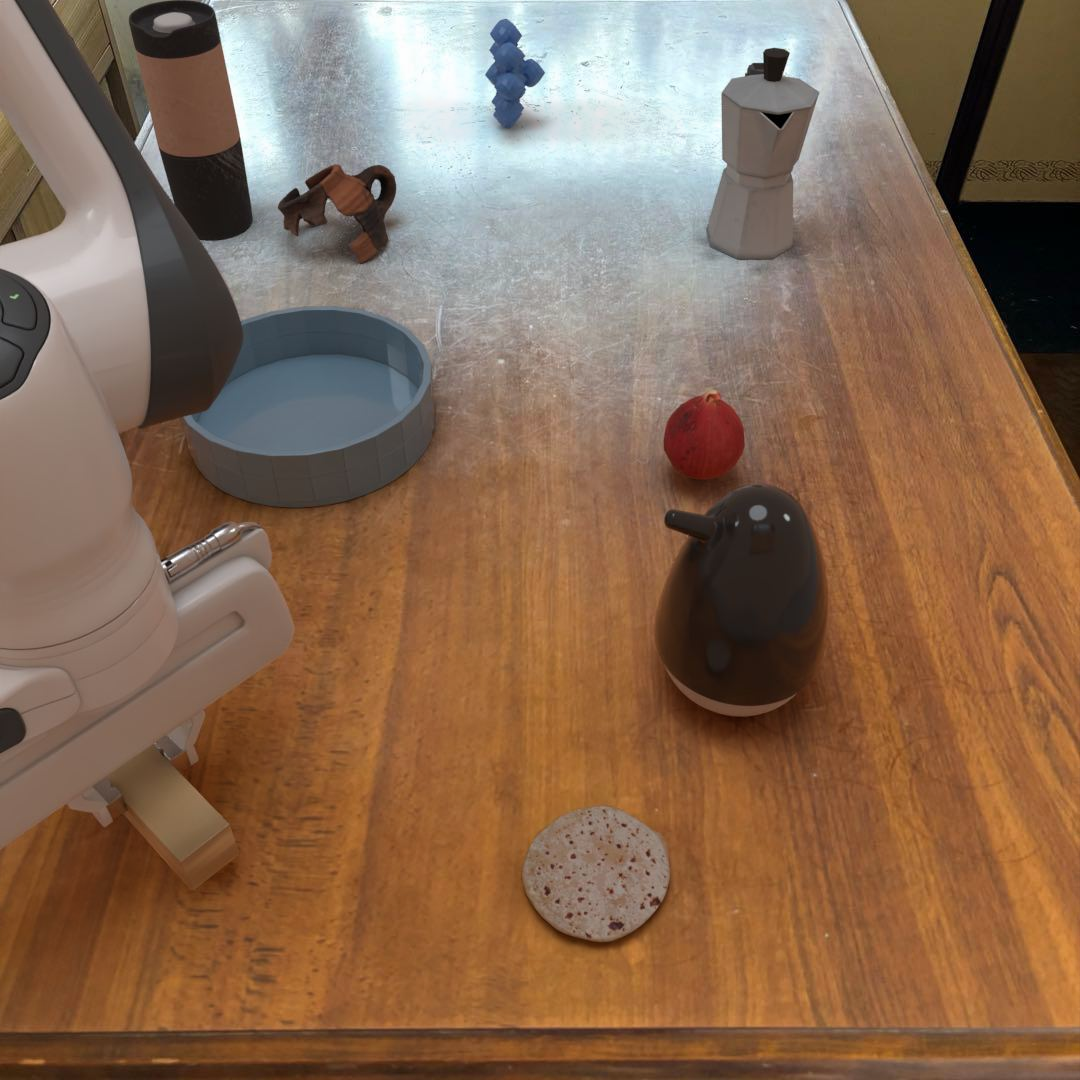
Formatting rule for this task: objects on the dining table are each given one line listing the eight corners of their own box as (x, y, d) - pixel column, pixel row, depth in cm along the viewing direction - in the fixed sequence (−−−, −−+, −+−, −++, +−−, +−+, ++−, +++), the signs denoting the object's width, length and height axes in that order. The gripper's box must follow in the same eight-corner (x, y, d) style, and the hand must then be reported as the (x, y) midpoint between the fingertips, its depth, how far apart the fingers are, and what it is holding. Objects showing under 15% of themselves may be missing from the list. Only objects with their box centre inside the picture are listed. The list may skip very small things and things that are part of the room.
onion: (676, 509, 81) (687, 422, 75) (649, 460, 84) (657, 374, 79) (749, 494, 82) (765, 408, 76) (719, 446, 86) (732, 361, 80)
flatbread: (581, 973, 56) (581, 964, 55) (496, 862, 60) (495, 853, 59) (701, 885, 59) (703, 876, 58) (613, 787, 63) (614, 777, 63)
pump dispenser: (636, 619, 73) (652, 440, 62) (791, 611, 73) (834, 432, 63) (658, 748, 66) (682, 570, 55) (830, 738, 66) (886, 560, 55)
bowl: (141, 429, 87) (124, 377, 84) (331, 330, 97) (323, 280, 94) (291, 546, 78) (280, 493, 74) (485, 422, 88) (482, 371, 84)
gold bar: (72, 757, 63) (56, 726, 61) (118, 726, 65) (105, 694, 62) (192, 891, 57) (179, 862, 55) (240, 854, 59) (229, 824, 57)
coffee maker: (805, 271, 104) (841, 79, 92) (712, 271, 104) (736, 80, 92) (779, 196, 115) (809, 16, 103) (695, 197, 115) (714, 16, 102)
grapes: (549, 146, 123) (551, 36, 115) (489, 149, 123) (486, 38, 115) (540, 104, 132) (540, -3, 123) (483, 106, 131) (480, -1, 123)
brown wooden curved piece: (345, 283, 104) (292, 207, 99) (304, 285, 111) (254, 214, 107) (433, 209, 107) (386, 133, 103) (389, 216, 115) (343, 145, 111)
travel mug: (233, 197, 115) (191, -7, 101) (270, 225, 111) (231, 16, 97) (165, 220, 111) (112, 11, 97) (200, 249, 107) (150, 36, 93)
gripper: (222, 476, 57) (266, 648, 67) (-186, 707, 46) (-63, 872, 56) (298, 535, 54) (332, 707, 64) (-120, 797, 43) (-2, 956, 53)
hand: (145, 786), depth 60 cm, fingers closed on gold bar, 3 cm apart
